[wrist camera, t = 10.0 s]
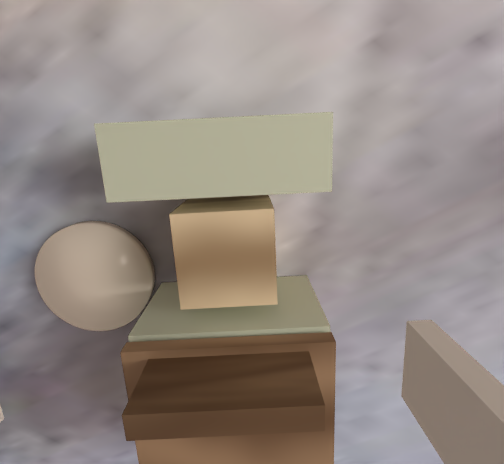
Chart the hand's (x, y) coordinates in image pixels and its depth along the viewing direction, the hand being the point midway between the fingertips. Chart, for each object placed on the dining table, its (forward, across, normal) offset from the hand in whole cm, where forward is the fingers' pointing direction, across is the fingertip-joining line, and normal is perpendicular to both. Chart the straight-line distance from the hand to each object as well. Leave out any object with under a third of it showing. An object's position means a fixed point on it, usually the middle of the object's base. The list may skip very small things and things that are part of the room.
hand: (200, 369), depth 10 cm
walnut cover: (+8, 0, -8) cm, 12 cm away
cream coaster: (+17, -11, -3) cm, 20 cm away
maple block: (+17, 0, 0) cm, 17 cm away
